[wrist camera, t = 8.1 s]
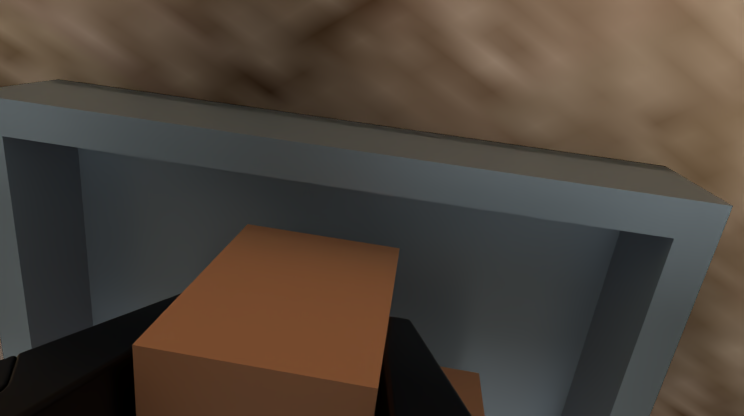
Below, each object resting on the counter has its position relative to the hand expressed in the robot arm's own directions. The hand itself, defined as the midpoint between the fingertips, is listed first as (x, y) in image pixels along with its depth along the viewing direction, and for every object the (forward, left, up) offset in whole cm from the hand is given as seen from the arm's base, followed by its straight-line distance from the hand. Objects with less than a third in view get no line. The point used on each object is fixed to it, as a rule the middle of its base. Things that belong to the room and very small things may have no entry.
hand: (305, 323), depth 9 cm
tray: (-3, 0, -3) cm, 5 cm away
